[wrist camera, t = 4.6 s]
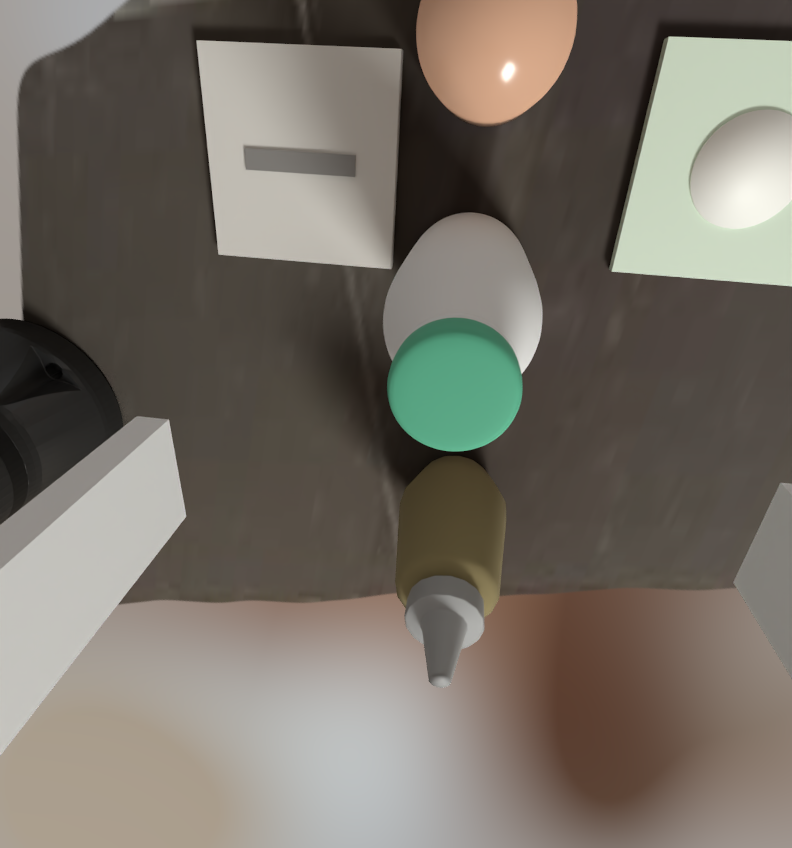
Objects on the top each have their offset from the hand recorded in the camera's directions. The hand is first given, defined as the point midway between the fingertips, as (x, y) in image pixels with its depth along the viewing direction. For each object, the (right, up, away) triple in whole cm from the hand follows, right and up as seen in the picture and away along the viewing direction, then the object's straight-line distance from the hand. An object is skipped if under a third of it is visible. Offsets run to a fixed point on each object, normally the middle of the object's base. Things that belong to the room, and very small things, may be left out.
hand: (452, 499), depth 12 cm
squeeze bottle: (+4, -3, +31) cm, 32 cm away
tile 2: (+19, +16, +18) cm, 31 cm away
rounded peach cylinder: (+4, +22, +18) cm, 29 cm away
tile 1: (-7, +18, +21) cm, 29 cm away
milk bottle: (+3, +12, +23) cm, 26 cm away
